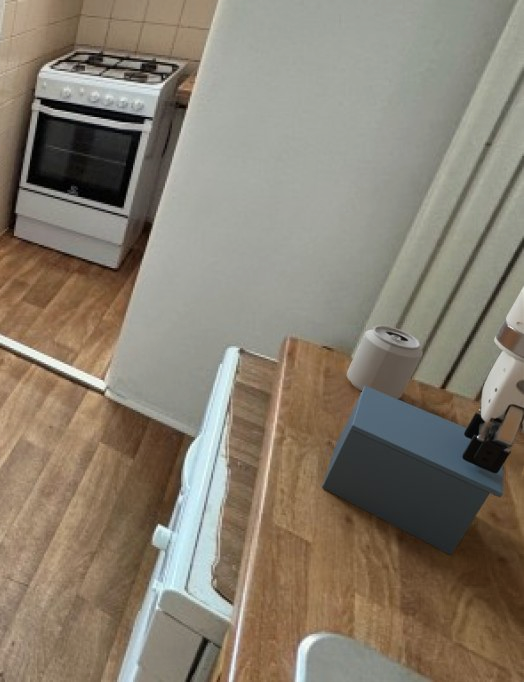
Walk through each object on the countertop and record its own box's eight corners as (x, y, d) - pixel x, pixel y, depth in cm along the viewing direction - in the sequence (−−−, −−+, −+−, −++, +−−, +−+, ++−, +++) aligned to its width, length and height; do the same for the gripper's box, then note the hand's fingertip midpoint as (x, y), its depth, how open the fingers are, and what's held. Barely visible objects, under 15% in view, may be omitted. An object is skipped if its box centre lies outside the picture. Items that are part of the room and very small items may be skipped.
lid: (501, 447, 84) (517, 420, 82) (500, 498, 77) (518, 469, 75) (362, 389, 94) (374, 364, 92) (350, 429, 87) (363, 402, 85)
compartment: (455, 502, 89) (491, 443, 85) (450, 555, 82) (489, 493, 77) (335, 445, 98) (362, 389, 94) (321, 487, 91) (350, 429, 87)
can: (404, 392, 110) (431, 339, 105) (393, 409, 106) (421, 355, 101) (351, 368, 116) (375, 316, 111) (339, 383, 112) (362, 331, 107)
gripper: (598, 396, 67) (522, 510, 74) (586, 332, 77) (520, 437, 84) (498, 360, 72) (435, 470, 79) (499, 305, 83) (443, 406, 89)
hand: (480, 452), depth 81 cm, fingers closed on lid, 5 cm apart
